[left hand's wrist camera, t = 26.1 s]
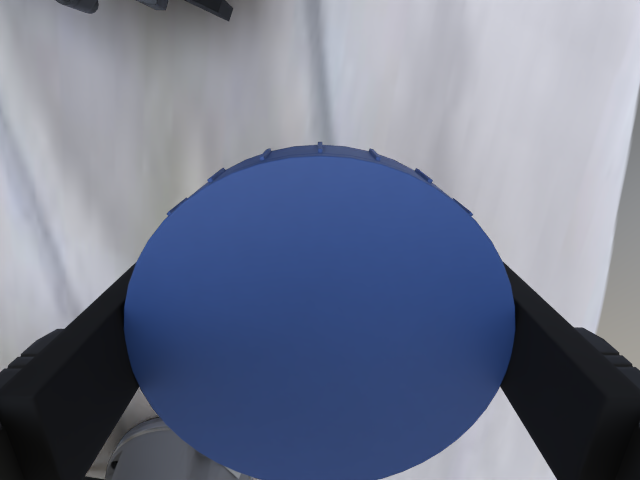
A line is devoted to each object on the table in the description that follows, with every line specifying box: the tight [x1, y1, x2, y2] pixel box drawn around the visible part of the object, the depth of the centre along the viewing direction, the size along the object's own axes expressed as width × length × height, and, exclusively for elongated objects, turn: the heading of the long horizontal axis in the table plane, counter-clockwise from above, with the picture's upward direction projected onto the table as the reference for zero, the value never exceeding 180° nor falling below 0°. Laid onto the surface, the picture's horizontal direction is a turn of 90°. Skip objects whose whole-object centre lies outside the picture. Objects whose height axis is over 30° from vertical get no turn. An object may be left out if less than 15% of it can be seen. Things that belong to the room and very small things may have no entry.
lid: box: [124, 142, 515, 480], centre depth 11 cm, size 10×10×2 cm
